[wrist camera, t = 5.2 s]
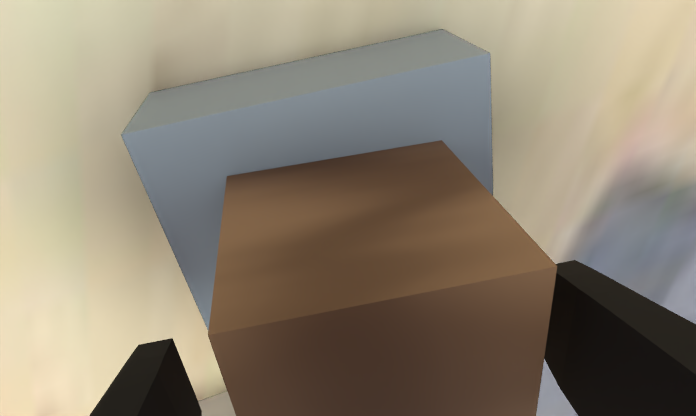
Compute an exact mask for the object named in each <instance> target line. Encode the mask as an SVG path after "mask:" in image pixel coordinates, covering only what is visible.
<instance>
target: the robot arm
mask: <svg viewBox="0 0 696 416" xmlns="http://www.w3.org/2000/svg"><path fill="white" fill-rule="evenodd" d="M556 266H557V272H556V279H555V286H554V293H553V300H552V307H551V314H550V320H549V327H548V334H547V341H546V348H545V355H544V358H545V360H546V362H547V364H548V366H549V368H550V370H551V372H552V374H553V376H554V378H555V380H556V381H557V383H558V385H559V387H560V389H561V390H562V392H563V393H564V395H565V396H566V398H567V399H568V401H569V402H570V404H571V405H572V407H573V408H574V410H575V411H576V413H577V414H578V416H696V324H694V323H692V322H690V321H688V320H686V319H685V318H683V317H681V316H679V315H677V314H675V313H673V312H671V311H669V310H668V309H666V308H664V307H662V306H660V305H658V304H656V303H655V302H653V301H651V300H649V299H647V298H645V297H644V296H642V295H640V294H638V293H636V292H634V291H633V290H631V289H629V288H627V287H625V286H623V285H622V284H620V283H618V282H616V281H614V280H612V279H610V278H609V277H607V276H605V275H603V274H601V273H599V272H597V271H596V270H594V269H592V268H590V267H588V266H586V265H584V264H582V263H580V262H578V261H576V260H574V261H569V262H563V263H558V264H556ZM90 416H202V410H201V408H200V405H199V403H198V400H197V398H196V395H195V393H194V390H193V388H192V386H191V383H190V381H189V378H188V376H187V373H186V371H185V368H184V366H183V363H182V361H181V358H180V356H179V353H178V351H177V348H176V346H175V343H174V341H173V339H167V340H162V341H156V342H151V343H146V344H141V345H138V346H137V348H136V349H135V350H134V352H133V353H132V355H131V356H130V358H129V359H128V360H127V362H126V363H125V365H124V366H123V368H122V369H121V370H120V372H119V373H118V375H117V376H116V378H115V379H114V381H113V382H112V384H111V385H110V387H109V388H108V390H107V391H106V392H105V394H104V395H103V397H102V398H101V400H100V401H99V403H98V404H97V405H96V407H95V408H94V410H93V411H92V413H91V414H90Z"/></svg>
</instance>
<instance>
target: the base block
mask: <svg viewBox="0 0 696 416" xmlns="http://www.w3.org/2000/svg"><path fill="white" fill-rule="evenodd" d="M121 136H122V138H123V140H124V143H125V145H126V147H127V149H128V152H129V154H130V156H131V158H132V161H133V163H134V165H135V167H136V170H137V172H138V174H139V176H140V179H141V181H142V183H143V185H144V187H145V190H146V192H147V194H148V196H149V199H150V201H151V203H152V205H153V208H154V210H155V212H156V214H157V217H158V219H159V221H160V223H161V226H162V228H163V230H164V232H165V235H166V237H167V239H168V241H169V244H170V246H171V248H172V250H173V253H174V255H175V257H176V259H177V262H178V264H179V266H180V268H181V270H182V273H183V275H184V277H185V279H186V282H187V284H188V286H189V288H190V291H191V293H192V295H193V297H194V300H195V302H196V304H197V306H198V309H199V311H200V313H201V315H202V318H203V320H204V322H205V324H206V327H207V329H208V331H209V322H210V314H211V305H212V297H213V288H214V280H215V271H216V263H217V255H218V246H219V238H220V229H221V221H222V212H223V204H224V195H225V187H226V178H227V176H231V175H237V174H243V173H249V172H255V171H261V170H267V169H273V168H279V167H285V166H291V165H297V164H303V163H309V162H315V161H321V160H326V159H332V158H338V157H344V156H350V155H356V154H362V153H368V152H374V151H380V150H386V149H392V148H398V147H404V146H410V145H416V144H422V143H428V142H434V141H440V140H442V141H443V142H444V143H445V144H446V145H447V147H448V148H449V149H450V150H451V151H452V152H453V153H454V154H455V155H456V156H457V157H458V159H459V160H460V161H461V162H462V163H463V164H464V165H465V166H466V167H467V168H468V169H469V171H470V172H471V173H472V174H473V175H474V176H475V177H476V178H477V179H478V180H479V181H480V183H481V184H482V185H483V186H484V187H485V188H486V189H487V190H488V191H489V192H490V193H491V195H492V196H493V170H492V119H491V67H490V53H489V52H487V51H485V50H483V49H481V48H479V47H477V46H475V45H473V44H471V43H469V42H467V41H465V40H463V39H461V38H459V37H457V36H455V35H453V34H451V33H449V32H447V31H445V30H443V29H441V30H436V31H431V32H427V33H422V34H418V35H413V36H408V37H404V38H399V39H395V40H390V41H385V42H381V43H376V44H372V45H367V46H362V47H358V48H353V49H348V50H344V51H339V52H335V53H330V54H325V55H321V56H316V57H312V58H307V59H302V60H298V61H293V62H289V63H284V64H279V65H275V66H270V67H266V68H261V69H256V70H252V71H247V72H243V73H238V74H233V75H229V76H224V77H219V78H215V79H210V80H206V81H201V82H196V83H192V84H187V85H183V86H178V87H173V88H169V89H164V90H160V91H155V92H150V93H149V95H148V96H147V98H146V99H145V100H144V102H143V103H142V105H141V106H140V108H139V109H138V111H137V112H136V114H135V115H134V116H133V118H132V119H131V121H130V122H129V124H128V125H127V127H126V128H125V130H124V131H123V133H122V134H121Z"/></svg>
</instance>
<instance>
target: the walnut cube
mask: <svg viewBox="0 0 696 416" xmlns="http://www.w3.org/2000/svg"><path fill="white" fill-rule="evenodd" d="M556 272H557V266H556V264H555V263H554V262H553V261H552V260H551V259H550V258H549V257H548V256H547V255H546V254H545V252H544V251H543V250H542V249H541V248H540V247H539V246H538V245H537V244H536V243H535V242H534V240H533V239H532V238H531V237H530V236H529V235H528V234H527V233H526V232H525V231H524V230H523V228H522V227H521V226H520V225H519V224H518V223H517V222H516V221H515V220H514V219H513V218H512V216H511V215H510V214H509V213H508V212H507V211H506V210H505V209H504V208H503V207H502V205H501V204H500V203H499V202H498V201H497V200H496V199H495V198H494V197H493V196H492V195H491V193H490V192H489V191H488V190H487V189H486V188H485V187H484V186H483V185H482V184H481V183H480V181H479V180H478V179H477V178H476V177H475V176H474V175H473V174H472V173H471V172H470V171H469V169H468V168H467V167H466V166H465V165H464V164H463V163H462V162H461V161H460V160H459V159H458V157H457V156H456V155H455V154H454V153H453V152H452V151H451V150H450V149H449V148H448V147H447V145H446V144H445V143H444V142H443V141H442V140H440V141H434V142H428V143H422V144H416V145H410V146H404V147H398V148H392V149H386V150H380V151H374V152H368V153H362V154H356V155H350V156H344V157H338V158H332V159H326V160H321V161H315V162H309V163H303V164H297V165H291V166H285V167H279V168H273V169H267V170H261V171H255V172H249V173H243V174H237V175H231V176H227V178H226V187H225V195H224V204H223V212H222V221H221V229H220V238H219V246H218V255H217V263H216V271H215V280H214V288H213V297H212V305H211V314H210V322H209V331H208V337H209V339H210V342H211V345H212V348H213V351H214V354H215V357H216V360H217V362H218V365H219V368H220V371H221V374H222V377H223V380H224V383H225V385H226V388H227V391H228V394H229V397H230V400H231V403H232V406H233V408H234V411H235V414H236V416H536V411H537V404H538V397H539V390H540V383H541V376H542V369H543V362H544V355H545V348H546V341H547V334H548V327H549V320H550V314H551V307H552V300H553V293H554V286H555V279H556Z"/></svg>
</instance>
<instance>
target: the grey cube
mask: <svg viewBox="0 0 696 416" xmlns="http://www.w3.org/2000/svg"><path fill="white" fill-rule="evenodd" d="M198 403H199V405H200V408H201V410H202V416H236V414H235V411H234V408H233V406H232V403H231V400H230V397H229V394H228V391H226V392H223V393H220V394H217V395H215V396H212V397H209V398H206V399H203V400H201V401H198Z"/></svg>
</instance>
